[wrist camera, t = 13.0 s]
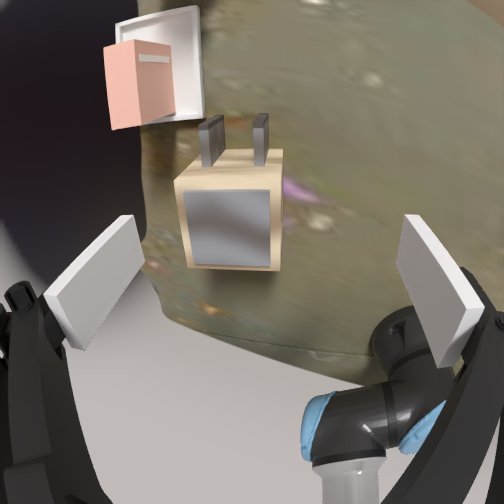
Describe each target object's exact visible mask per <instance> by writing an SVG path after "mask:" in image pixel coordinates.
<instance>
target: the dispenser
mask: <svg viewBox="0 0 504 504" xmlns="http://www.w3.org/2000/svg"><path fill="white" fill-rule="evenodd" d="M198 129H199V141H200V152H201V154H200V155H199V156H198V157H197V158H196V159H195V160H194V161H193V162H192V163H191V164H190V165H189V166H188V167H187V168H186V169H185V170H184V171H183V172H182V173H181V174H180V175H179V176H178V177H177V178H176V179H175V180H174V187H175V194H176V200H177V207H178V213H179V220H180V226H181V232H182V238H183V243H184V249H185V255H186V260H187V266H188V268H204V269H230V270H259V271H280V264H281V245H282V224H283V149H269V132H268V113H260V114H259V115H258V116H257V118H256V119H255V120H254V122H253V139H254V149H226V146H225V131H224V115H215V116H213V117H212V118H210V119H208V120H206V121H204V122H203V123H201V124H199V125H198Z"/></svg>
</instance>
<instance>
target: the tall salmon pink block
mask: <svg viewBox="0 0 504 504" xmlns="http://www.w3.org/2000/svg"><path fill="white" fill-rule="evenodd" d="M104 62H105V74H106V85H107V94H108V103H109V111H110V119H111V126H112V130H115V129H120V128H126V127H133V126H139V125H143V124H146V123H148V122H151V121H153V120H156V119H158V118H161V117H163V116H166V115H169V114H171V113H174V112H176V108H175V97H174V85H173V72H172V57H171V46H170V45H165V44H160V43H154V42H149V41H143V40H137V39H132V40H129V41H125V42H121V43H118V44H115V45H111V46H108V47H105V48H104Z"/></svg>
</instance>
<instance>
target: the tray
mask: <svg viewBox="0 0 504 504" xmlns="http://www.w3.org/2000/svg"><path fill="white" fill-rule="evenodd" d="M115 25H116V44H118V43H121V42H125V41H129V40H132V39H137V40H143V41H149V42H154V43H160V44H165V45H170V46H171V57H172V72H173V85H174V97H175V108H176V112H174V113H171V114H169V115H166V116H163V117H161V118H158V119H156V120H153V121H151V122H148V123H146V124H152V123H160V122H168V121H177V120H188V119H200V118H204V117H206V110H205V96H204V81H203V64H202V46H201V26H200V7H198V6H197V5H193V6H187V7H182V8H177V9H171V10H167V11H162V12H158V13H153V14H149V15H145V16H141V17H138V18H134V19H130V20H127V21H124V22H121V23H118V24H115ZM143 125H144V124H143Z"/></svg>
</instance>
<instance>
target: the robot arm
mask: <svg viewBox="0 0 504 504" xmlns="http://www.w3.org/2000/svg"><path fill="white" fill-rule="evenodd" d="M144 262H145V259H144V255H143V252H142V248H141V244H140V240H139V236H138V232H137V228H136V224H135V220H134V216H133V215H122V216H120V217H119V218H118V219H117V220H116V221H115V222H114V223H112V224H111V225H110V226H109V227H108V228H107V229H106V230H105V231H104V232H103V233H102V234H101V235H100V236H99V237H98V238H97V239H96V240H94V241H93V243H91V245H89V246H88V247H87V248H86V249H85V250H84V251H83V252H82V253H81V254H80V255H79V256H78V257H77V258H76V259H75V260H74V261H73V262H72V264H71V265H70V266H68V267H67V268H65V269H64V270H63V272H62V273H61V274H60V275H59V276H58V277H57V278H56V279H55V280H54V282H52V283H51V284H50V286H49V287H48V288H47V289H46V290H45V291H44V292H43V293H42V294H41V295H40V297H39V298H38V299H37V297H36V295H35V292H34V290H33V288H32V286H31V284H30V282H28V281H21V282H18V283H16V284H14V285H13V286H11V287H10V288H9V289H8V290H7V291H6V293H5V295H4V297H5V299H6V301H7V303H8V304H9V306H10V308H11V310H12V312H6V310H5V308H4V306H3V304H1V303H0V350H1V351H2V352H3V354H4V356H3V358H1V357H0V504H113V503H112V502H111V500H110V499H109V498H108V496H107V495H106V494H105V493H104V491H103V490H102V488H101V486H100V484H99V481H98V478H97V476H96V473H95V470H94V468H93V464H92V461H91V458H90V455H89V453H88V449H87V446H86V443H85V439H84V436H83V432H82V429H81V425H80V421H79V417H78V413H77V410H76V405H75V401H74V396H73V391H72V386H71V382H70V377H69V371H68V366H67V358H66V352H65V348H64V346H63V344H62V341H63V340H64V338H65V337H66V339H67V341H68V342H69V344H70V346H71V347H72V348H76V349H80V350H84V351H85V350H86V348H87V347H88V345H89V343H90V342H91V340H92V339H93V337H94V335H95V334H96V332H97V331H98V329H99V328H100V326H101V325H102V323H103V322H104V320H105V319H106V317H107V316H108V313H110V311H111V309H112V308H113V306H114V305H115V304H116V302H117V300H118V299H119V297H120V296H121V295H122V293H123V292H124V290H125V289H126V287H127V286H128V285H129V283H130V282H131V280H132V279H133V277H134V276H135V274H136V273H137V272H138V270H139V269H140V268H141V266H142V265H143V263H144ZM395 265H396V267H397V269H398V272H399V274H400V276H401V278H402V280H403V283H404V285H405V287H406V289H407V292H408V294H409V296H410V298H411V301H412V303H413V305H414V306H409V307H405V308H403V309H400V310H398V311H396V312H394V313H392V314H391V315H389V316H388V317H386V318H385V319H384V320H383V321H382V322H381V323H380V324H379V325H378V326H377V327H376V329H375V330H374V332H373V335H372V338H371V345H372V349H373V353H374V356H375V358H376V359H377V360H378V362H379V364H380V365H381V367H382V368H383V370H384V371H385V373H386V374H387V376H388V381H387V382H383V383H378V384H374V385H369V386H365V387H361V388H355V389H350V390H344V391H339V392H338V391H334V392H332V393H329V394H325V395H320V396H316V397H314V398H312V399H311V400H310V401H309V402H308V404H307V406H306V408H305V411H304V415H303V420H302V426H301V444H302V445H301V453H302V457H303V459H304V460H306V461H309V462H312V463H313V464H312V466H313V467H312V470H313V471H314V472H315V473H316V474H318V475H319V476H320V477H321V478H322V487H323V504H379V488H378V469H379V468H380V467H381V466H382V464H383V463H384V462H385V461H386V449H389V448H393V447H397V446H398V447H399V450H400V451H401V453H402V454H411V453H412V454H414V453H416V455H415V457H414V458H413V460H412V461H411V463H410V464H409V466H408V467H407V469H406V470H405V472H404V473H403V474H402V476H401V477H400V479H399V480H398V482H397V483H396V484H395V486H394V487H393V488H392V490H391V491H390V492H389V493H388V495H387V496H386V497H385V499H384V500H383V501H382V502H381V504H462V503H463V501H464V500H465V498H466V496H467V494H468V492H469V490H470V488H471V486H472V484H473V482H474V480H475V478H476V476H477V474H478V472H479V469H480V467H481V465H482V463H483V460H484V458H485V456H486V453H487V451H488V448H489V446H490V443H491V441H492V438H493V435H494V432H495V429H496V426H497V424H498V421H499V418H500V426H499V427H500V428H499V435H498V443H497V450H496V456H495V462H494V468H493V472H492V477H491V482H490V486H489V490H488V494H487V498H486V502H485V504H504V312H501V311H496V309H495V307H494V306H493V304H492V303H491V301H490V299H489V298H488V296H487V295H486V293H485V292H484V291H482V287H481V286H480V285H479V284H478V282H477V280H476V279H475V277H474V276H473V274H471V273H470V272H469V271H468V270H466V269H465V268H464V267H458V266H457V264H456V263H455V261H454V260H453V259H452V257H451V256H450V255H449V253H448V252H447V250H446V249H445V248H444V246H443V245H442V244H441V242H440V241H439V240H438V239H437V237H436V236H435V235H434V233H433V232H432V231H431V230H430V228H429V227H428V226H427V225H426V223H425V222H424V221H423V220H422V218H421V217H420V216H419V215H406V214H405V215H404V221H403V227H402V233H401V238H400V244H399V249H398V254H397V259H396V263H395ZM460 355H462V358H463V360H464V364H463V366H462V368H461V369H460V371H459V372H458V374H457V376H456V377H455V374H454V371H453V368H452V366H455V364H456V362H457V361H458V359H459V357H460ZM500 415H501V416H500Z"/></svg>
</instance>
